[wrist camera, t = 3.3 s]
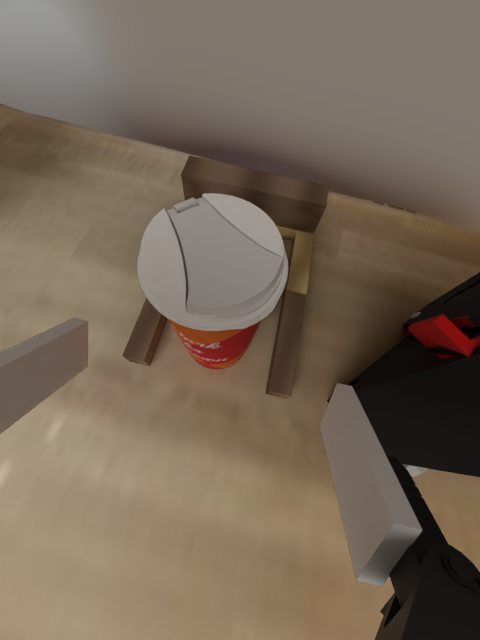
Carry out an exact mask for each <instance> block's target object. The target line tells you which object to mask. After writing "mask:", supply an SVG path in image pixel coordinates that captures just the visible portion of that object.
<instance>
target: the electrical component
mask: <svg viewBox="0 0 480 640" xmlns="http://www.w3.org/2000/svg"><path fill="white" fill-rule="evenodd" d="M403 325H404V326H405V327H406V328H408V329H409V331H408V332H406V334H407V335H408V336H407V337H406V338H405V339H403V340H402V341H401V342H400V343H398V344H397V345H396V346H395V347H393V348H392V349H391V350H390V351H388V352H387V353H386V354H385V355H383V356H382V357H381V358H380V359H378V360H377V361H376V362H375V363H373V364H372V365H371V366H370V367H368V368H367V369H366V370H365V371H364V372H362V373H361V374H360V375H359V376H357V377H356V378H355V379H354V380H352V381H351V382H350V383H349V384H347V385H348V386H352V387H353V389H354V391H355V393H356V395H357V397H358V399H359V401H360V403H361V405H362V407H363V410H364V412H365V414H366V416H367V418H368V420H369V422H370V424H371V426H372V428H373V430H374V432H375V434H376V436H377V438H378V440H379V442H380V444H381V446H382V448H383V450H384V452H385V454H386V455H388V456H392V457H396V458H397V459H398V460H399V461H400V462H401V463H402V465H403V466H404V467H405V468H406V469H407V470H408V472H409V474H410V475H411V477H413V476H418V475H420V474H423V473H424V472H425V471H427V470H428V468H429V469H435V470H441V471H446V472H452V473H458V474H464V475H470V476H476V477H480V272H479V273H478V274H476V275H475V276H473V277H471V278H470V279H468V280H467V281H465V282H463V283H462V284H460V285H459V286H457V287H455V288H454V289H452V290H451V291H449V292H447V293H446V294H444V295H442V296H441V297H439V298H438V299H436V300H434V301H433V302H431V303H430V304H429V305H427V306H426V307H425V308H423V309H422V310H421V311H420V312H414V313H413V314H412V315H411V319H409V320H408V321H407V322H406V323H404V324H403ZM330 399H331V398H330ZM330 399H329V400H327V401H328V402H329V401H330Z"/></svg>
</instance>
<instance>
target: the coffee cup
mask: <svg viewBox="0 0 480 640" xmlns="http://www.w3.org/2000/svg"><path fill="white" fill-rule="evenodd" d="M173 206H174V208H172V209H169V210H166V211H167V213H166V211H165V209H164V208H163V209H162V210H161V211H160V212H159V213H157V214H156V216H155V217H154V218H153V219H152V220H151V221H150V223H149V225H148V226H147V228H146V230H145V232H144V235H143V237H142V241H141V246H140V252H139V256H138V262H137V273H138V278H139V283H140V285H141V288H142V290H143V293H144V294H145V296H146V297H147V299H148V300H149V302H150V303H151V304H152V305H153V306H154V308H155V309H156V310H157V311H158V312H160V313H161V314H162V315H164V316H165V317H166V318H167V319H168V320H169V322H170V324H171V325H172V327H173V328H174V330H175V332H176V333H177V335H178V336H179V338H180V339H181V341H182V343H183V344H184V346H185V347H186V349H187V350H188V352H189V353H190V354H191V356H192V357H193V358H194V359H195V360H196V361H197V362H198V363H199V364H201V365H202V366H204V367H207V368H211V369H223V368H226V367H229V366H231V365H233V364H234V363H236V362H237V361H238V360H239V359H240V358H241V356H242V355H243V354H244V352H245V350H246V348H247V347H248V345H249V343H250V341H251V339H252V337H253V335H254V333H255V332H256V330H257V328H258V326H259V324H260V322H261V320H262V319H263V318H265V317H266V316H267V315H268V314H270V313H271V312H272V311H273V310H274V308H275V306H276V304H277V302H278V300H279V298H280V296H281V294H282V292H283V290H284V288H285V285H286V281H287V276H288V259H287V255H286V252H285V249H284V244H283V240H282V237H281V234H280V232H279V230H278V228H277V226H276V225H275V224H274V222H273V221H272V219H271V218H270V217H269V216H268V215H267V214H266V213H265V212H264V211H262V210H261V209H260V208H258V207H257V206H255V205H254V204H252V203H250V202H248V201H246V200H243V199H241V198H238V197H234V196H231V195H225V194H215V193H208V194H203V195H202V198H199V199H195V198H190V199H188V200H185V201H182V202H179V203H177V204H174V205H173Z"/></svg>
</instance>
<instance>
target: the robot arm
mask: <svg viewBox="0 0 480 640" xmlns="http://www.w3.org/2000/svg"><path fill="white" fill-rule="evenodd" d="M86 367H88V321H85V320H81V319H77V318H72V319H70V320H68V321H66V322H64V323H62V324H59V325H57V326H55V327H53V328H51V329H49V330H47V331H45V332H43V333H40V334H38V335H36V336H34V337H32V338H30V339H28V340H26V341H24V342H21V343H19V344H17V345H15V346H13V347H11V348H9V349H7V350H5V351H2V352H0V434H1V433H2V432H3V431H5V430H6V429H7V428H9V427H10V426H11V425H12V424H14V423H15V422H16V421H18V420H19V419H20V418H21V417H23V416H24V415H25V414H27V413H28V412H29V411H31V410H32V409H33V408H34V407H36V406H37V405H38V404H40V403H41V402H42V401H43V400H45V399H46V398H47V397H49V396H50V395H51V394H53V393H54V392H55V391H56V390H58V389H59V388H60V387H62V386H63V385H64V384H66V383H67V382H68V381H69V380H71V379H72V378H73V377H75V376H76V375H77V374H78V373H80V372H81V371H82V370H84V369H85V368H86ZM320 428H321V432H322V437H323V441H324V445H325V449H326V454H327V458H328V462H329V466H330V471H331V475H332V479H333V483H334V488H335V492H336V496H337V500H338V505H339V509H340V513H341V517H342V522H343V526H344V530H345V534H346V539H347V543H348V547H349V551H350V556H351V560H352V564H353V568H354V573H355V577H356V580H357V581H361V582H364V583H368V584H372V585H375V586H379V587H382V585H383V584H384V583H385V581H386V580H387V578H388V577H389V576H390V578H391V581H392V584H393V587H394V590H395V593H394V594H393V596H392V597H391V598H390V599H389V601H388V602H387V603H386V605H385V606H384V607H383V609H382V610H381V611H380V612H381V613H382V614H383V615H384V617H383V619H382V622H381V624H380V627H379V630H378V632H377V635H376V637H375V640H480V572H479V571H478V569H477V568H476V567H475V566H474V564H473V563H472V562H471V561H470V560H469V559H468V558H467V557H466V556H464V555H463V554H462V553H461V552H460V551H458V550H457V549H455V548H454V547H452V546H451V545H449V544H448V543H447V541H446V539H445V537H444V535H443V534H442V532H441V530H440V528H439V526H438V525H437V523H436V521H435V519H434V517H433V515H432V514H431V512H430V510H429V508H428V506H427V505H426V503H425V501H424V499H423V498H422V497H421V496H422V495H421V494H420V492H419V490H418V488H417V487H415V483H414V481H413V479H412V477H411V475H410V474H409V472H408V470H407V469H406V468H405V467H404V466H403V465H402V463H401V462H400V461H399V460H398V459H397V458H396V457H392V456H388V455H386V454H385V452H384V450H383V448H382V446H381V444H380V442H379V440H378V438H377V436H376V434H375V432H374V430H373V428H372V426H371V424H370V422H369V420H368V418H367V416H366V414H365V412H364V410H363V407H362V405H361V403H360V401H359V399H358V397H357V395H356V393H355V391H354V389H353V387H352V386H348V385H344V384H340V383H337V384H336V387H335V389H334V392H333V394H332V397H331V399H330V401H329V404H328V406H327V409H326V411H325V414H324V416H323V418H322V421H321V423H320Z"/></svg>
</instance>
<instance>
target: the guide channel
mask: <svg viewBox="0 0 480 640" xmlns="http://www.w3.org/2000/svg"><path fill="white" fill-rule="evenodd" d="M181 176H182V183H183V189H184V196H185V200H188V199H190V198H195V199H199V198H202V195H203V194H208V193H215V194H225V195H231V196H234V197H238V198H241V199H243V200H246V201H248V202H250V203H252V204H254V205H255V206H257V207H258V208H260V209H261V210H262V211H264V212H265V213H266V214H267V215H268V216H269V217H270V218H271V219H272V221H273V222H274V224H275V225H276V226H277V228H278V230H279V232H280V234H281V237H282V238H284V239H288V240H293V243H292V248H291V254H290V259H289V265H288V276H287V281H286V285H285V288H284V293H283V299H282V304H281V310H280V315H279V321H278V327H277V332H276V338H275V344H274V349H273V355H272V360H271V366H270V372H269V377H268V383H267V388H266V394H269V395H273V396H277V397H282V398H288V397H290V396H291V393H292V386H293V379H294V372H295V365H296V357H297V350H298V343H299V336H300V329H301V321H302V314H303V307H304V300H305V295H306V293H307V287H308V279H309V272H310V265H311V257H312V250H313V243H314V236H315V234H314V231H315V229H316V227H317V225H318V223H319V221H320V218H321V216H322V214H323V212H324V210H325V208H326V205H327V197H328V188H329V186H326V185H322V184H317V183H313V182H309V181H304V180H299V179H295V178H290V177H286V176H281V175H276V174H271V173H267V172H262V171H258V170H253V169H249V168H243V167H239V166H235V165H230V164H226V163H221V162H216V161H212V160H207V159H202V158H198V157H193V156H189V158H188V160H187V162H186V165H185V167H184V169H183V171H182V173H181ZM166 320H167V318H166V317H165V316H164V315H162V314H161V313H160V312H158V311H157V310H156V309H155V308H154V306H153V305H152V304H151V303H150V302H149V300H148V299H147V298H146V301H145V303H144V305H143V308H142V310H141V313H140V315H139V317H138V320H137V322H136V325H135V327H134V329H133V332H132V334H131V337H130V339H129V341H128V344H127V346H126V348H125V351H124V353H123V356H124V357H125V358H126V359H127V360H129V361H131V362H135V363H139V364H144V365H148V366H150V363H151V360H152V358H153V355H154V352H155V350H156V347H157V344H158V341H159V339H160V336H161V333H162V331H163V328H164V325H165V323H166Z"/></svg>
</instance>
